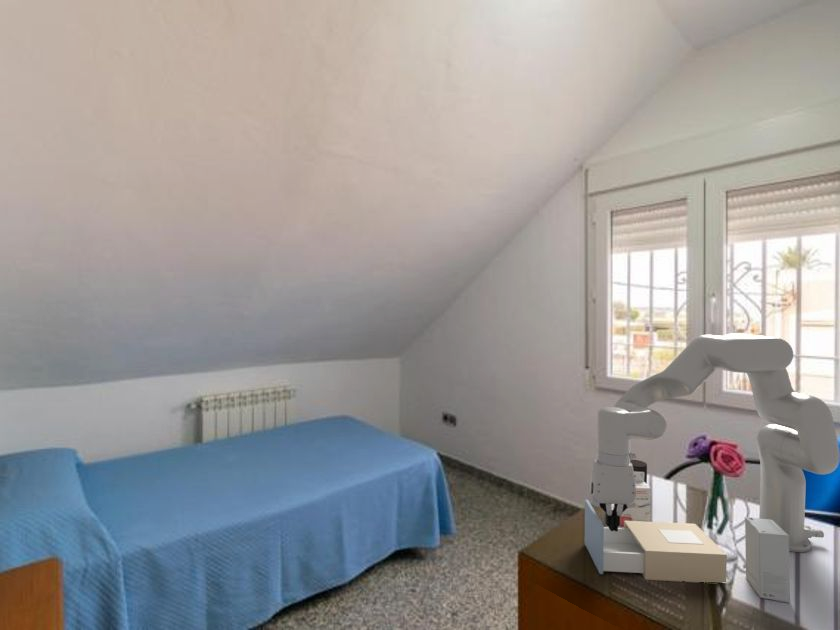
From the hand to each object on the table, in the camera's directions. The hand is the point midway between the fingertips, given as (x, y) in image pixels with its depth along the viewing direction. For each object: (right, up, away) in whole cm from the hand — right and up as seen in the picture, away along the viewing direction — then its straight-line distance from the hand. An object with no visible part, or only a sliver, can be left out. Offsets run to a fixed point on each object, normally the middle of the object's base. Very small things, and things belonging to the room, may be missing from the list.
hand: (612, 528), depth 111 cm
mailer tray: (+4, -8, 0) cm, 9 cm away
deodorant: (+19, -7, +27) cm, 33 cm away
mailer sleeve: (+14, -8, -1) cm, 17 cm away
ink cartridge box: (+14, -8, +19) cm, 25 cm away
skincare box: (+30, -9, -11) cm, 34 cm away
